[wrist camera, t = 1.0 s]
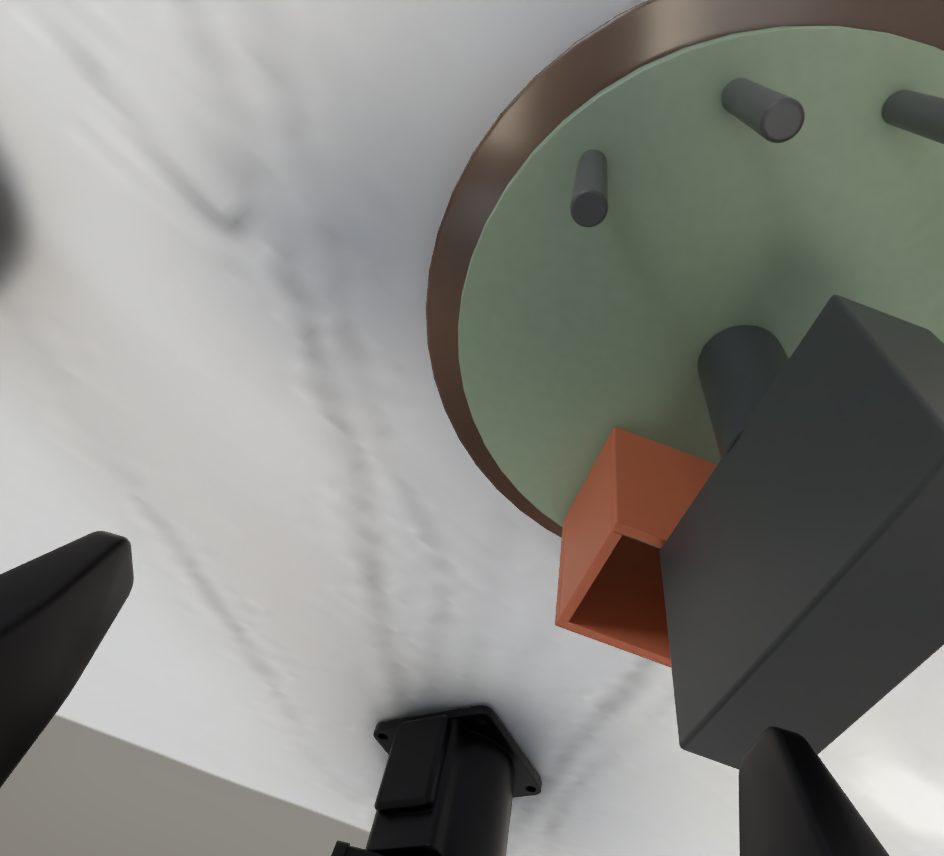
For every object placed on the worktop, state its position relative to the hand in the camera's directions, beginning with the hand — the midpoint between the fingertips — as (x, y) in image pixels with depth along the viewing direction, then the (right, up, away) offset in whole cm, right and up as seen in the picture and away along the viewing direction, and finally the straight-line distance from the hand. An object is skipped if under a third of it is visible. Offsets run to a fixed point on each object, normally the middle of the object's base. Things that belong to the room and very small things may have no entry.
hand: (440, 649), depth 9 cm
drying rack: (+8, +5, +10) cm, 13 cm away
